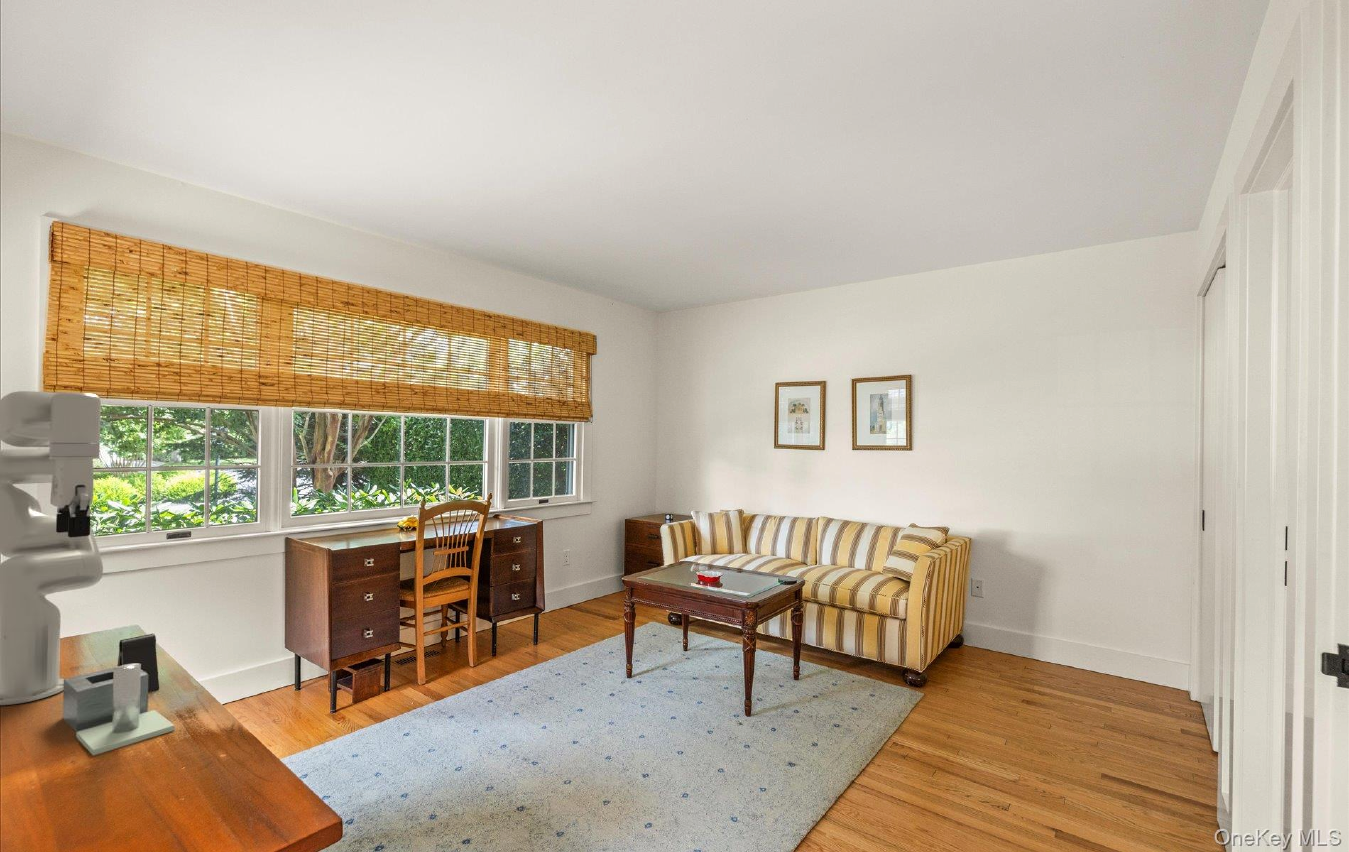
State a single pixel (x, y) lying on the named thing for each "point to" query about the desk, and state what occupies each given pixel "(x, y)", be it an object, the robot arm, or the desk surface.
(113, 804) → the desk surface
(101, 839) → the desk surface
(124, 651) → the phone stand
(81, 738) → the mat
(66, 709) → the chuck block
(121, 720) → the grey metal cylinder
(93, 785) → the desk surface
